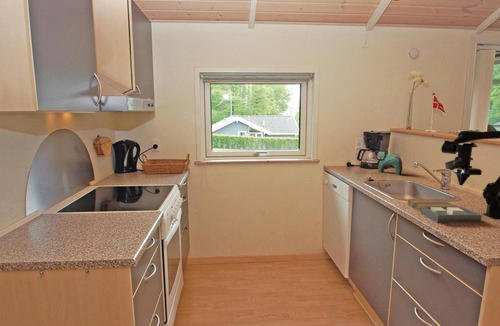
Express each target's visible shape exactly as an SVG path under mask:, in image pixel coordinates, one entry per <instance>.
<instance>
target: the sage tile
mask: <svg viewBox="0 0 500 326" xmlns="http://www.w3.org/2000/svg"><path fill="white" fill-rule="evenodd" d="M430 210H431V211H433V212H435V213H437V214H447V210H445V209H443V208H441V207H431V208H430Z"/></svg>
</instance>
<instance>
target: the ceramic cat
mask: <svg viewBox="0 0 500 326" xmlns="http://www.w3.org/2000/svg"><path fill="white" fill-rule="evenodd" d="M387 150H389V151H391V149H390V148H387V149H386V150H385V151H381V150H379V151H378V153H377V154H376V159H378V160H379V161H378V166H377V171H378V172H377V173H382V174H383V173H384V172H385V168H386V167H387V166H392V167H393V168H394V169H395V170H394V171H395V176H401V175H402V172H403V162H402V158H401V156H400V155H399V154H397V153H395V154H393V153H389V154H388V153H387V152H386V151H387Z"/></svg>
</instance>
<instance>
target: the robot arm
mask: <svg viewBox="0 0 500 326" xmlns="http://www.w3.org/2000/svg"><path fill="white" fill-rule="evenodd" d="M490 139H492V140H493V139H494V140H495V139H500V130H492V131H491V130H490V131H477V130H462V131H460V132H459V133H458V135H457V137H456V138H455V139H454V140H453V141H452V140H444V141H443V143H442V145H441V148H440V149H441V153H442V154H448V155H457V156H455V157H454V159H453V160H450V161H446V162H444V166H445V169H446V170H450V171H452V172H453V173H454V174H455V175H456V177H457V181H458V185H459V186H463V185H464V184H465V183H466V181H468V179H469V178H470V176H482V172H483V171H482V169H480V168H477V167H473V166H472V165H471V162H472V161H474V157H472V154H473V148H478V147H479V146H478V145H477V144H476V143H475V142H476V141H479V140H480V141H481V140H490ZM470 142H471V143H470ZM482 197H483V198H484V199H485V203H486V211H485V212H484V213H483V214H482V215H484V216H486V217H489V218H491V219H500V175H499V177H498V178H497V179H496V180H495V181H494V182H493V181H492V182H489V183H487V184H486V186H485V188H484V189H482Z"/></svg>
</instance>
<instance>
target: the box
mask: <svg viewBox="0 0 500 326" xmlns="http://www.w3.org/2000/svg"><path fill="white" fill-rule="evenodd" d="M459 208H460V209H462V210H463V211H464V214H449V213H447V214H437V213H435V212H433V211H431V210H429V209H427V208H426V207H422V209H421V212H420V214H421V215H423V216H425V217H427V218H428V219H430V220H432V221H434V222H435V223H437V224H438V223H439V224H440V223H442V224H443V223H445V224H446V223H447V224H449V223H454V224H455V223H456V224H457V223H464V224H465V223H466V224H467V223H468V224H469V223H472V224H473V223H479V224H480V223H482V222H481V221H482V215H483V214H480V213H478V212H476V211H473V210H471V209H469V208H466V207H464V206H459Z"/></svg>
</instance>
